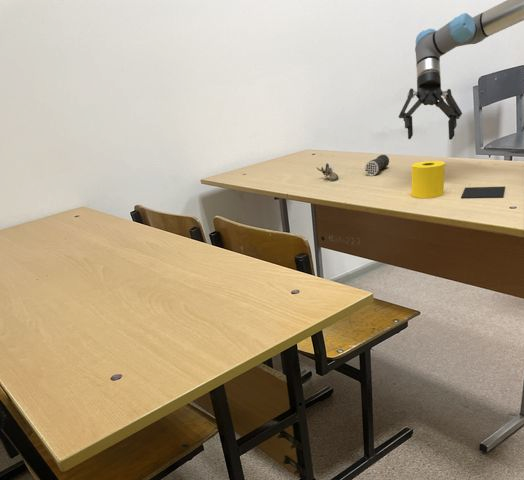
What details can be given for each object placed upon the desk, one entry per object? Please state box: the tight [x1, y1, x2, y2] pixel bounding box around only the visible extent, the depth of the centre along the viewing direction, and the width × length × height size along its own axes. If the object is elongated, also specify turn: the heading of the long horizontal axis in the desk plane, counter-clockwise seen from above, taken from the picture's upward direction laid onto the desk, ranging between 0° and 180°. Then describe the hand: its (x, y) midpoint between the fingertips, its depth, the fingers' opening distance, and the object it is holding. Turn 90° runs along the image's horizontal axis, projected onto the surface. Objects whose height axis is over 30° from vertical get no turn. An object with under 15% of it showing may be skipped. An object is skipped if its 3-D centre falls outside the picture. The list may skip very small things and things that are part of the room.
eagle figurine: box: [316, 163, 339, 182], centre depth 209 cm, size 8×7×9 cm
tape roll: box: [411, 160, 446, 199], centre depth 171 cm, size 10×10×9 cm
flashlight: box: [364, 154, 390, 177], centre depth 211 cm, size 15×5×5 cm, turn 151°
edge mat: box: [460, 186, 506, 199], centre depth 166 cm, size 12×12×1 cm
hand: (431, 137), depth 173 cm, fingers open, 13 cm apart
